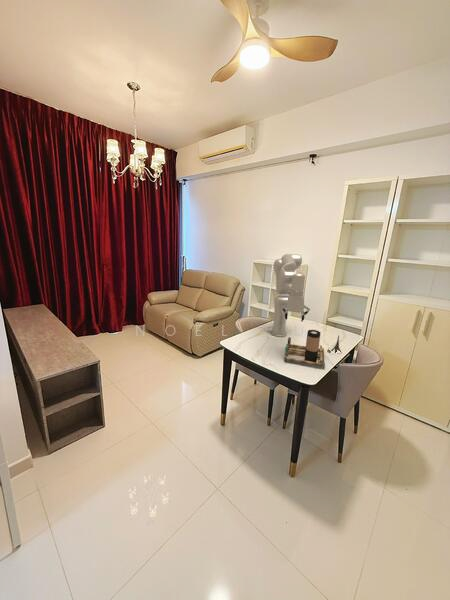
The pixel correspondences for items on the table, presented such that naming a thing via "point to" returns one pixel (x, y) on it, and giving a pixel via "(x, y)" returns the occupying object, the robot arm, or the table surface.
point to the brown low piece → (301, 356)
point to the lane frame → (309, 364)
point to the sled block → (300, 347)
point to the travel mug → (312, 345)
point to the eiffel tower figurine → (335, 347)
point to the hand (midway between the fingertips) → (294, 320)
